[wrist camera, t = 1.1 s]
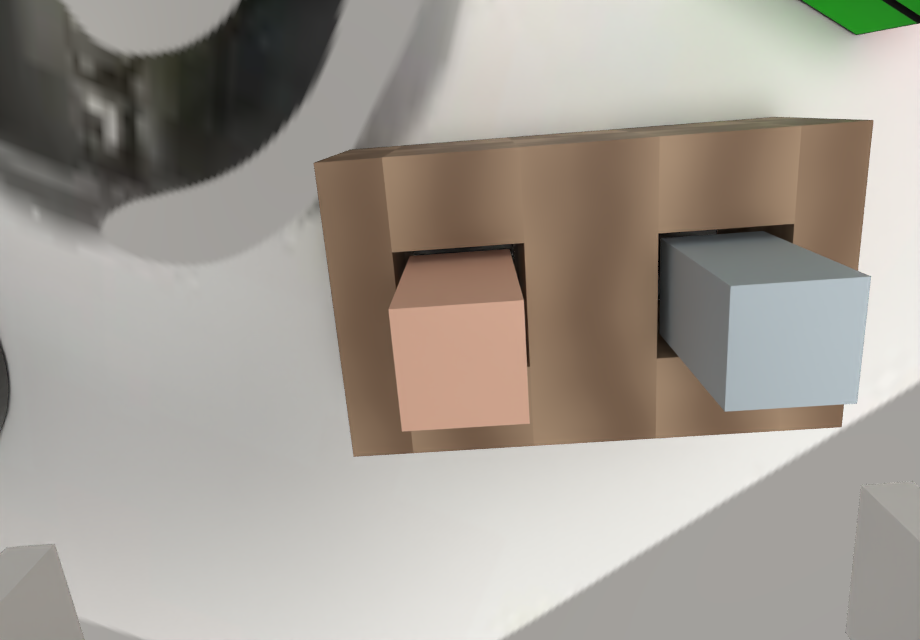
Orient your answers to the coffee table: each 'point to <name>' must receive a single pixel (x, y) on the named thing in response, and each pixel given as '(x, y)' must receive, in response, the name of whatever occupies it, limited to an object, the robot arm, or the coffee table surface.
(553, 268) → the walnut block
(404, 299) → the terracotta peg
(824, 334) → the slate peg
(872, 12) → the puzzle cube
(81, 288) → the coffee table surface
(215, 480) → the coffee table surface
